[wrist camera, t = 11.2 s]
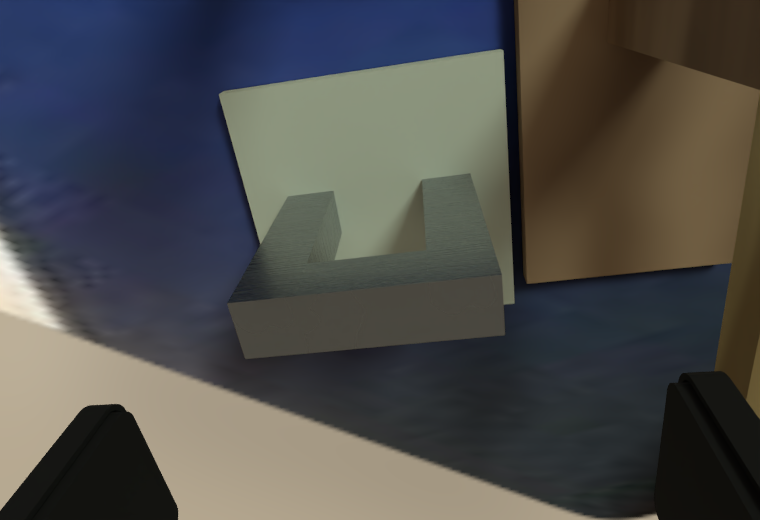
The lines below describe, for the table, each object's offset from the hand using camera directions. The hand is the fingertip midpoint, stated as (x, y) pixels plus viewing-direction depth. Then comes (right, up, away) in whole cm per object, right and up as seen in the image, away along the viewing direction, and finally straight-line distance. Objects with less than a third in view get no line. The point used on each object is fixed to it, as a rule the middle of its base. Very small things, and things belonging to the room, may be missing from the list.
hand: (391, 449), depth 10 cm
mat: (0, +6, +12) cm, 13 cm away
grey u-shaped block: (0, +5, +11) cm, 12 cm away
